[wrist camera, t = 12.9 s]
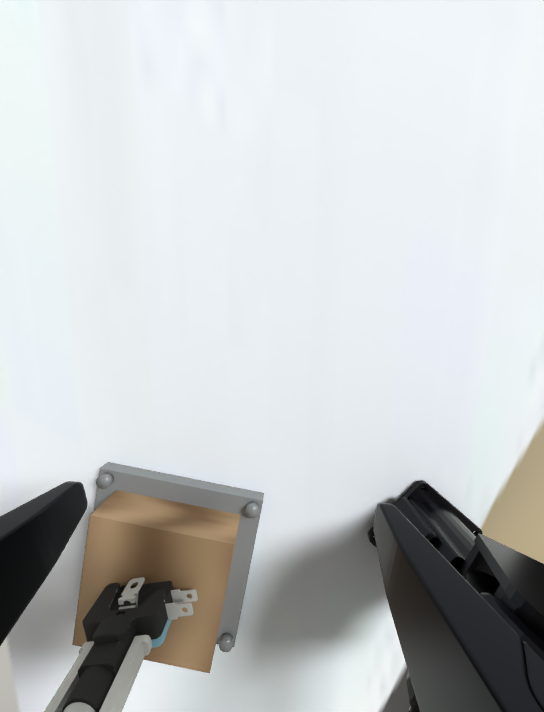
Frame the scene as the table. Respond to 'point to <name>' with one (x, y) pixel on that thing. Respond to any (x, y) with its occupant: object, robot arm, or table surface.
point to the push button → (119, 644)
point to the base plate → (201, 496)
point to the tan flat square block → (162, 566)
